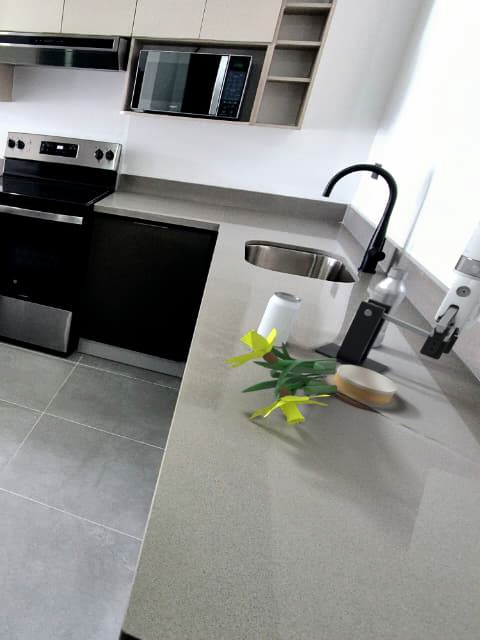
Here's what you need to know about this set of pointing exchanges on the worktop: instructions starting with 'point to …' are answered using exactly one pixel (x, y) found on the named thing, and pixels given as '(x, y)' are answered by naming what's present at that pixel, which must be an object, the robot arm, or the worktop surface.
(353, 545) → the worktop surface
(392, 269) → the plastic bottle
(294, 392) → the daffodil flowers
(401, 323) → the lever
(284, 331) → the can
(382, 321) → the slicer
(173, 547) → the worktop surface
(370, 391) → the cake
